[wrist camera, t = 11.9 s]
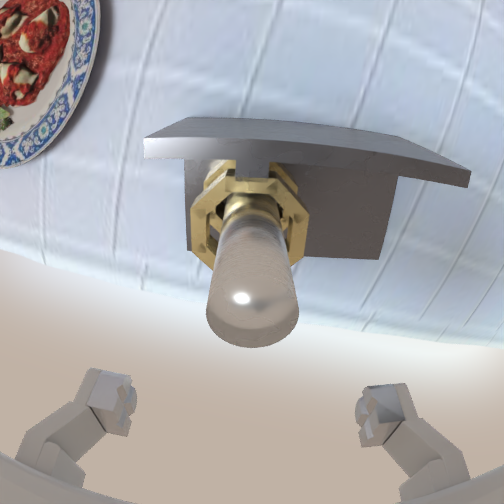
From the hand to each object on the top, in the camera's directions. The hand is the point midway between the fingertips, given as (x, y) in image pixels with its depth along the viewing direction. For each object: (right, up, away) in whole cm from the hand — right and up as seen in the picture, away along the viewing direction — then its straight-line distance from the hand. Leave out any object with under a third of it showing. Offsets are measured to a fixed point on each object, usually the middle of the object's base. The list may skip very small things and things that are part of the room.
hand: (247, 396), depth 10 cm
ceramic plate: (-26, +26, +12) cm, 39 cm away
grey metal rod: (0, +10, +19) cm, 21 cm away
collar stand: (+4, +11, +20) cm, 23 cm away
